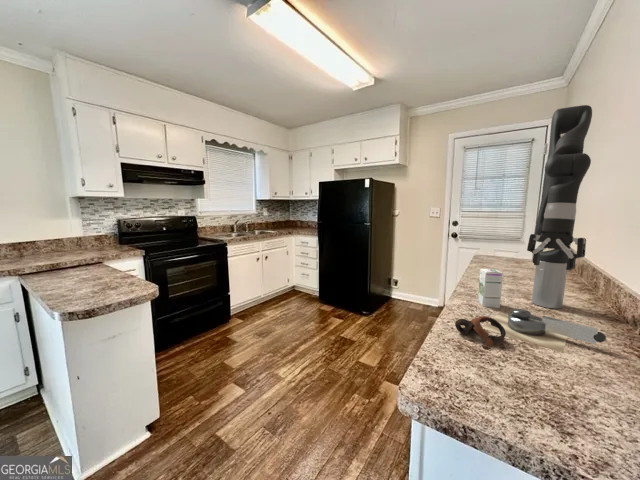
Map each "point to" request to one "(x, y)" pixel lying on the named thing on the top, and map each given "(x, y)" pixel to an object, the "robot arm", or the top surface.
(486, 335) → the brown curved loop piece
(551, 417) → the top surface
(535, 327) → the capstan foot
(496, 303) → the syrup box
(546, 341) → the beige flat square slab
